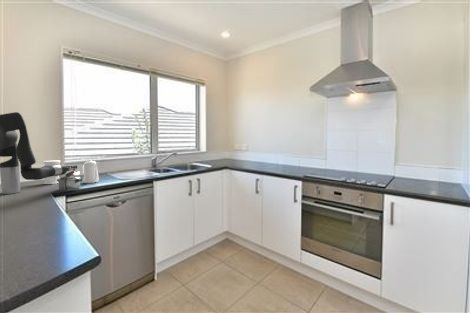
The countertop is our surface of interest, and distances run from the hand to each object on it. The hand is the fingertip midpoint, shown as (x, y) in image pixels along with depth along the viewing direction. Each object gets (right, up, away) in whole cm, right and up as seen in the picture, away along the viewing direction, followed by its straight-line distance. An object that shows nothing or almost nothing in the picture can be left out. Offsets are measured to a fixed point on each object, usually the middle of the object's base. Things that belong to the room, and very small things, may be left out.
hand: (76, 166), depth 174 cm
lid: (-1, -6, -6) cm, 8 cm away
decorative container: (-29, -14, +17) cm, 37 cm away
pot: (-1, -15, -6) cm, 16 cm away
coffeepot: (-1, -14, +21) cm, 25 cm away
